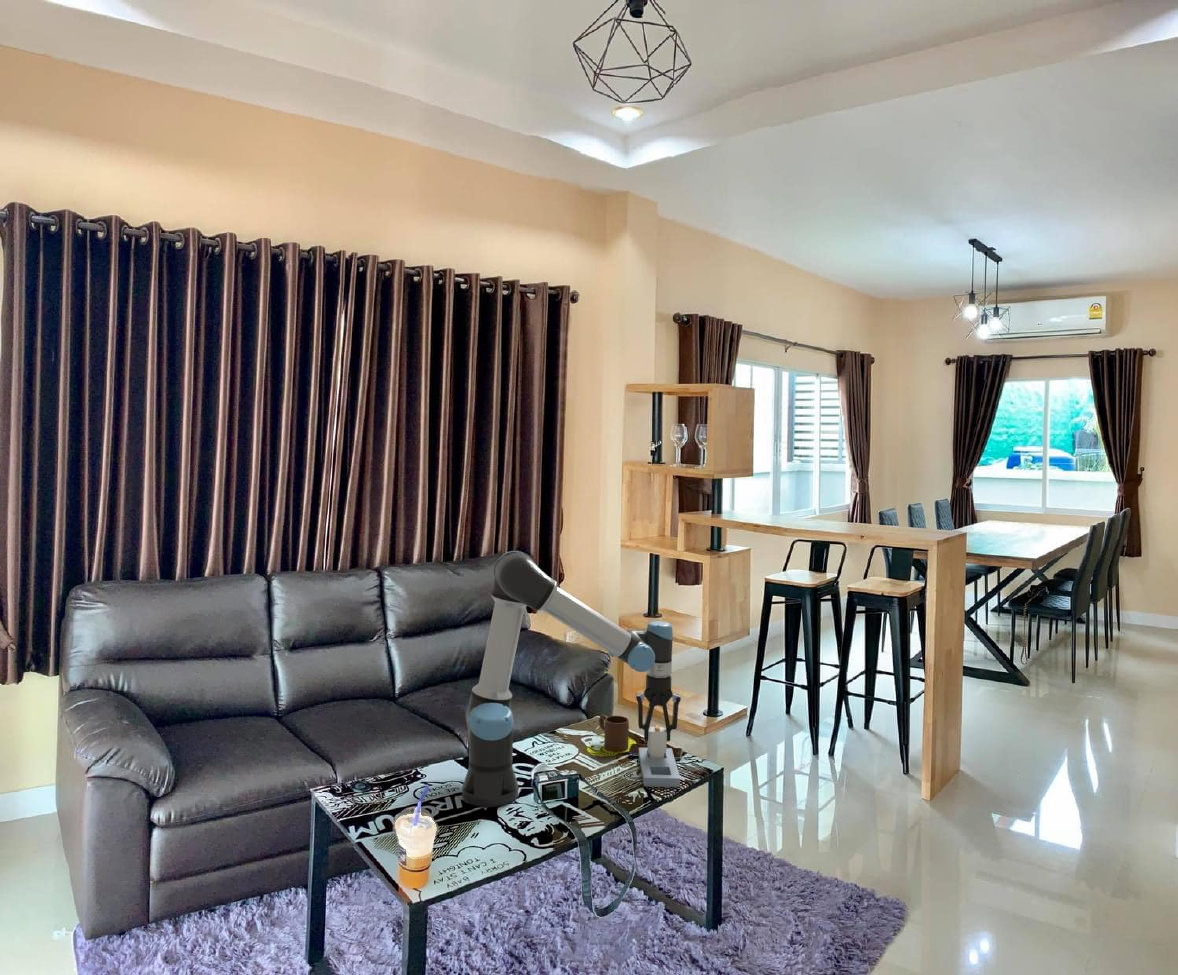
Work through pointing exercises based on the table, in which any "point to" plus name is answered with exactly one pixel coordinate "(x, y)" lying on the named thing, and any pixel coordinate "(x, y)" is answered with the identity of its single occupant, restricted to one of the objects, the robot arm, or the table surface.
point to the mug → (615, 732)
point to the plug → (657, 742)
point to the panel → (659, 769)
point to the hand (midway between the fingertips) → (656, 751)
